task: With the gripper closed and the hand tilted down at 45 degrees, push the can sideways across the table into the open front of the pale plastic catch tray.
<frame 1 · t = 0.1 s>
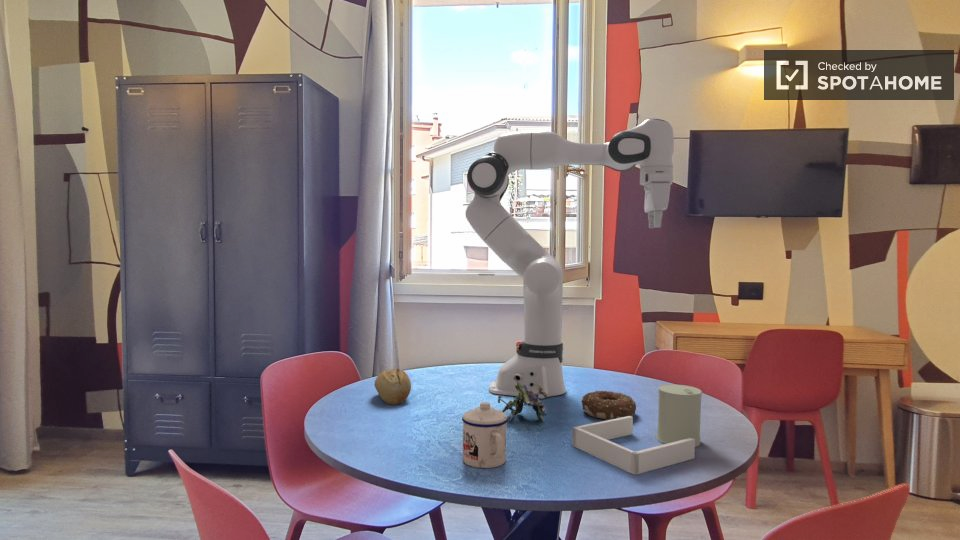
hand: (654, 228, 164), 48 cm above the table, tool pointing down, fingers open, 8 cm apart
donut: (608, 415, 149), on the table
bread roll: (392, 399, 160), on the table
catch tray: (633, 451, 123), on the table
passion flower: (523, 422, 142), on the table
teacup with lid: (487, 464, 115), on the table
can: (678, 441, 130), on the table
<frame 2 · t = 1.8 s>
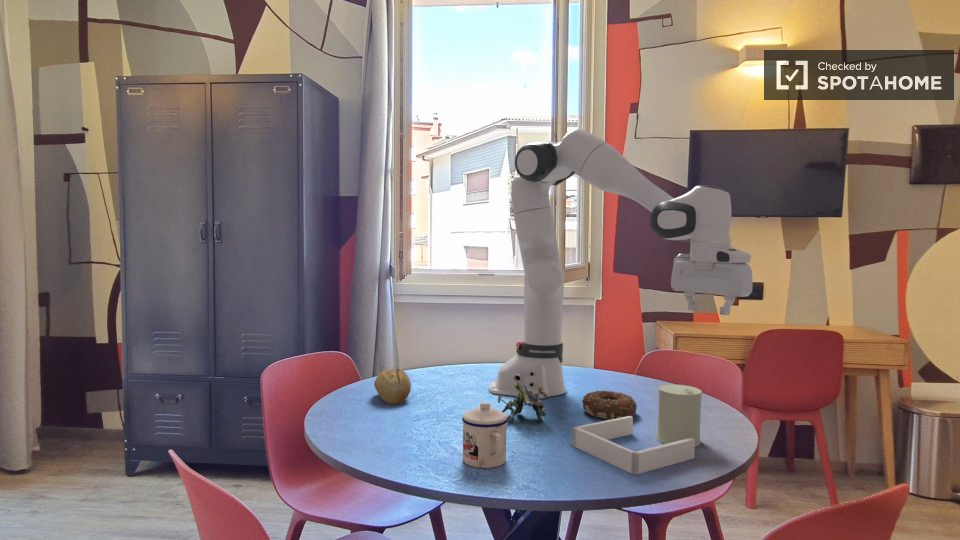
hand: (708, 312, 138), 27 cm above the table, tool pointing down, fingers open, 7 cm apart
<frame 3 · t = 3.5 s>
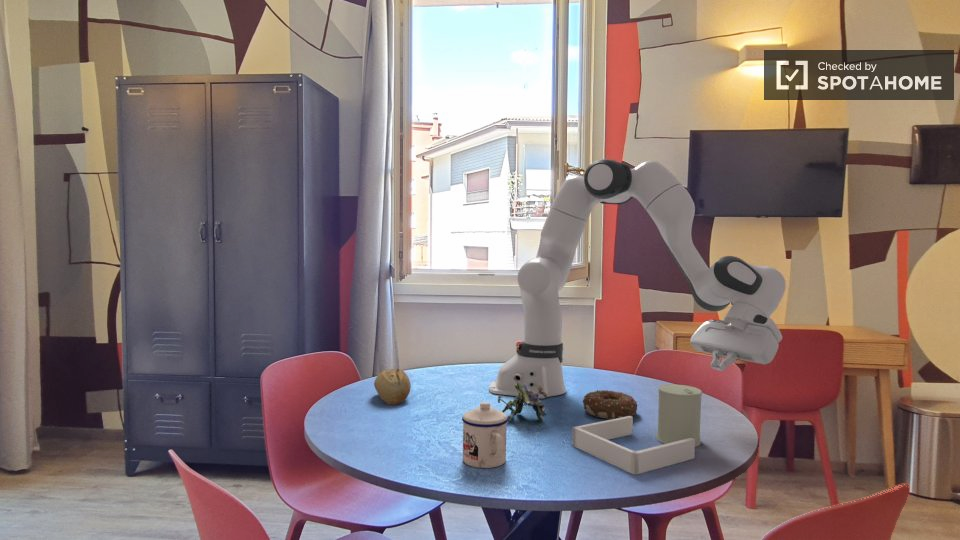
hand: (716, 368, 136), 15 cm above the table, tool tilted 45°, fingers closed
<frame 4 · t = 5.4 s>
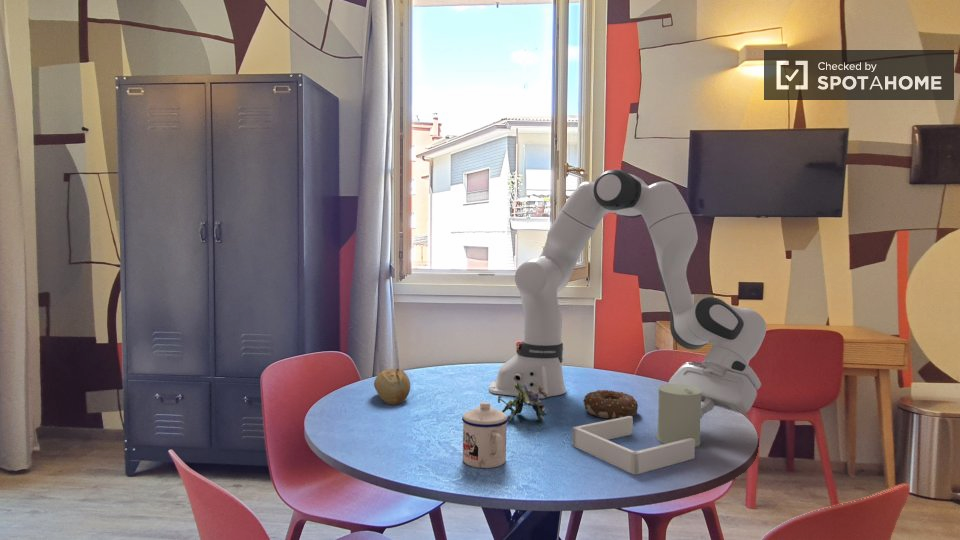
hand: (693, 415, 132), 5 cm above the table, tool tilted 45°, fingers closed
can: (678, 441, 130), on the table, touching gripper
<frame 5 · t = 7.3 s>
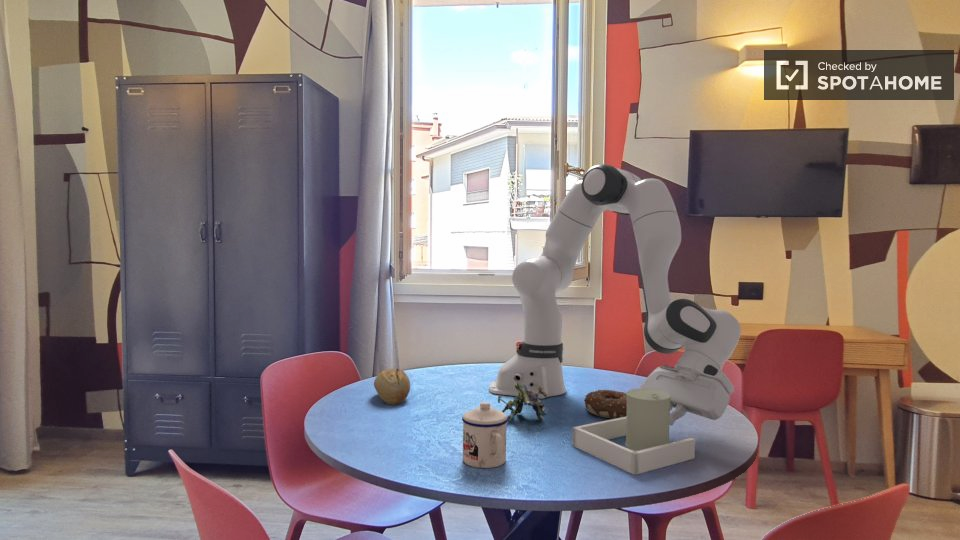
hand: (664, 422, 127), 5 cm above the table, tool tilted 45°, fingers closed, pressing on can
can: (647, 447, 125), on the table, touching gripper
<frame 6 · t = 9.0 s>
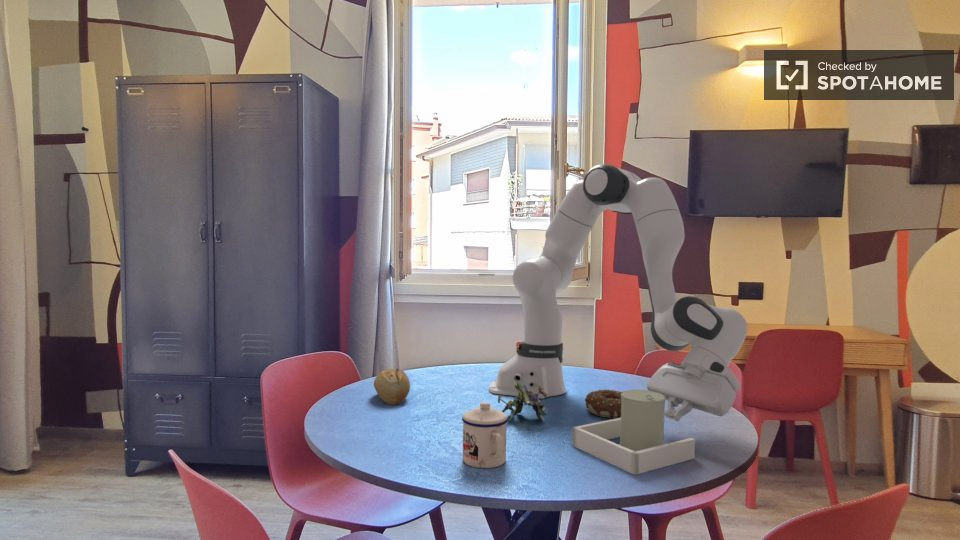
hand: (671, 418, 128), 5 cm above the table, tool tilted 45°, fingers closed
can: (641, 449, 125), on the table
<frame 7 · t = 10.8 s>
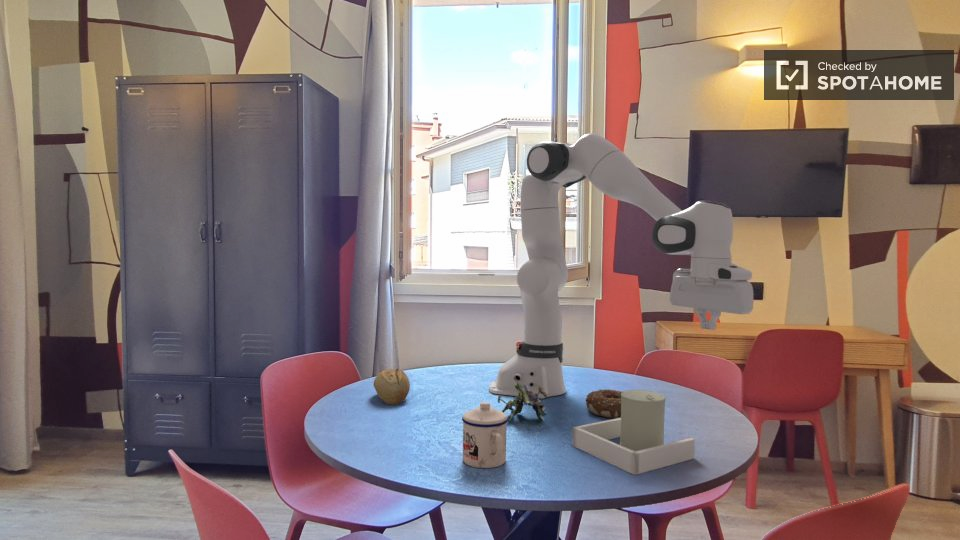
hand: (707, 329, 137), 24 cm above the table, tool pointing down, fingers closed
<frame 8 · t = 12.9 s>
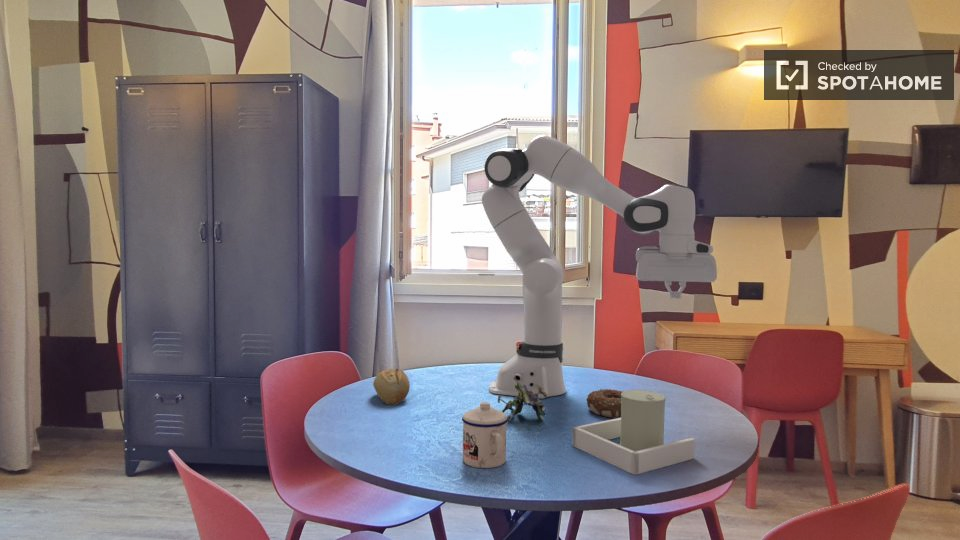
hand: (674, 298, 155), 29 cm above the table, tool pointing down, fingers closed
at the end: can 2.9 cm from the catch tray (horizontally); can tilted 0°; can moved 11.1 cm from its start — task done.
